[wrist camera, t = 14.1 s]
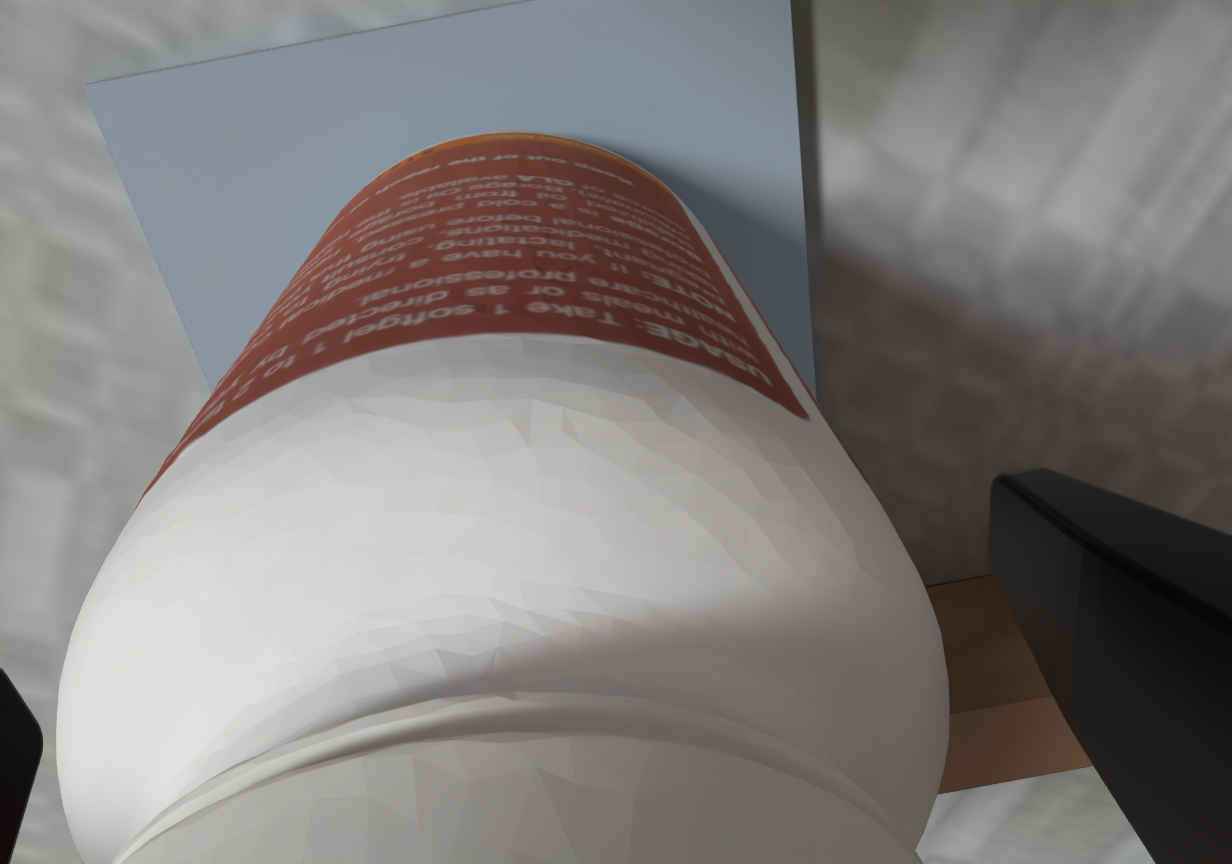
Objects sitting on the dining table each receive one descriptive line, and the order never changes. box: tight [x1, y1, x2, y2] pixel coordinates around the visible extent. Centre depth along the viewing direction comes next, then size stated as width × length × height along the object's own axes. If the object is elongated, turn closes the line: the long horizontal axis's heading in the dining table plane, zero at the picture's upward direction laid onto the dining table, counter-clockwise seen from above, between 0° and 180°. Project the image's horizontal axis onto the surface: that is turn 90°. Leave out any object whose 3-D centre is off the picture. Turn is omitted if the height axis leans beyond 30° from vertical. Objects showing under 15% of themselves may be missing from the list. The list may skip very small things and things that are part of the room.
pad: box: [82, 0, 817, 401], centre depth 14 cm, size 9×9×1 cm
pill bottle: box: [56, 130, 950, 864], centre depth 9 cm, size 6×6×11 cm
